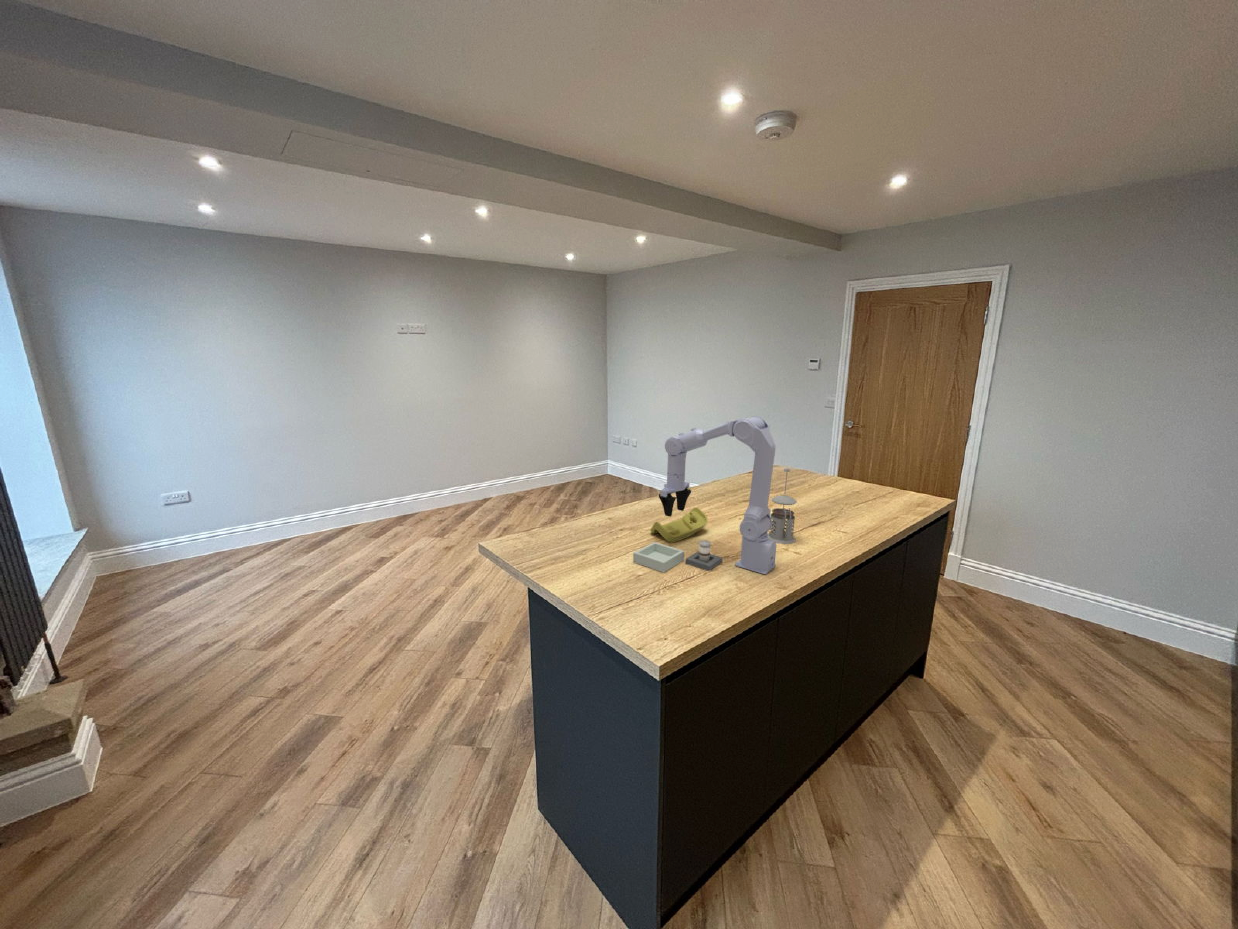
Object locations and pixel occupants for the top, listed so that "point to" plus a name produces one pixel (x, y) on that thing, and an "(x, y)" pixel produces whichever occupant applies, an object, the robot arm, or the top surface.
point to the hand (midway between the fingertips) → (674, 512)
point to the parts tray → (658, 556)
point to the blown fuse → (704, 551)
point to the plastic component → (681, 526)
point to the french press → (782, 519)
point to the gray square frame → (703, 565)
